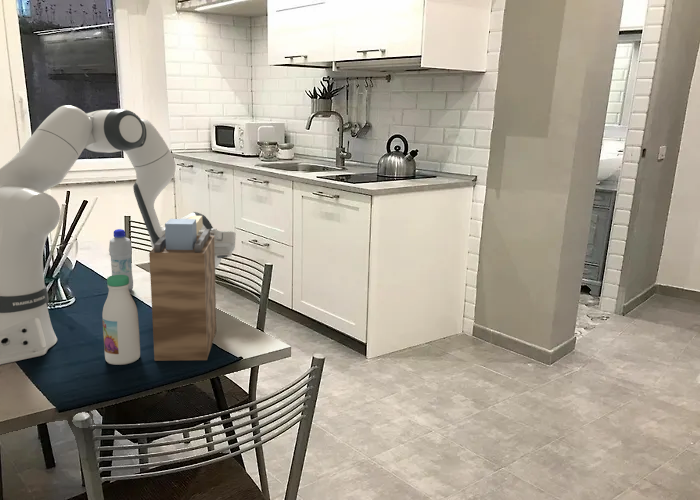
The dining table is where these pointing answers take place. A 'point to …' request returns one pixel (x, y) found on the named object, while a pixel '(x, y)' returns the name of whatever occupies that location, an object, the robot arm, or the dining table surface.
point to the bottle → (121, 256)
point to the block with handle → (182, 233)
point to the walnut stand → (183, 299)
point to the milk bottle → (120, 323)
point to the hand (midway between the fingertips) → (195, 231)
